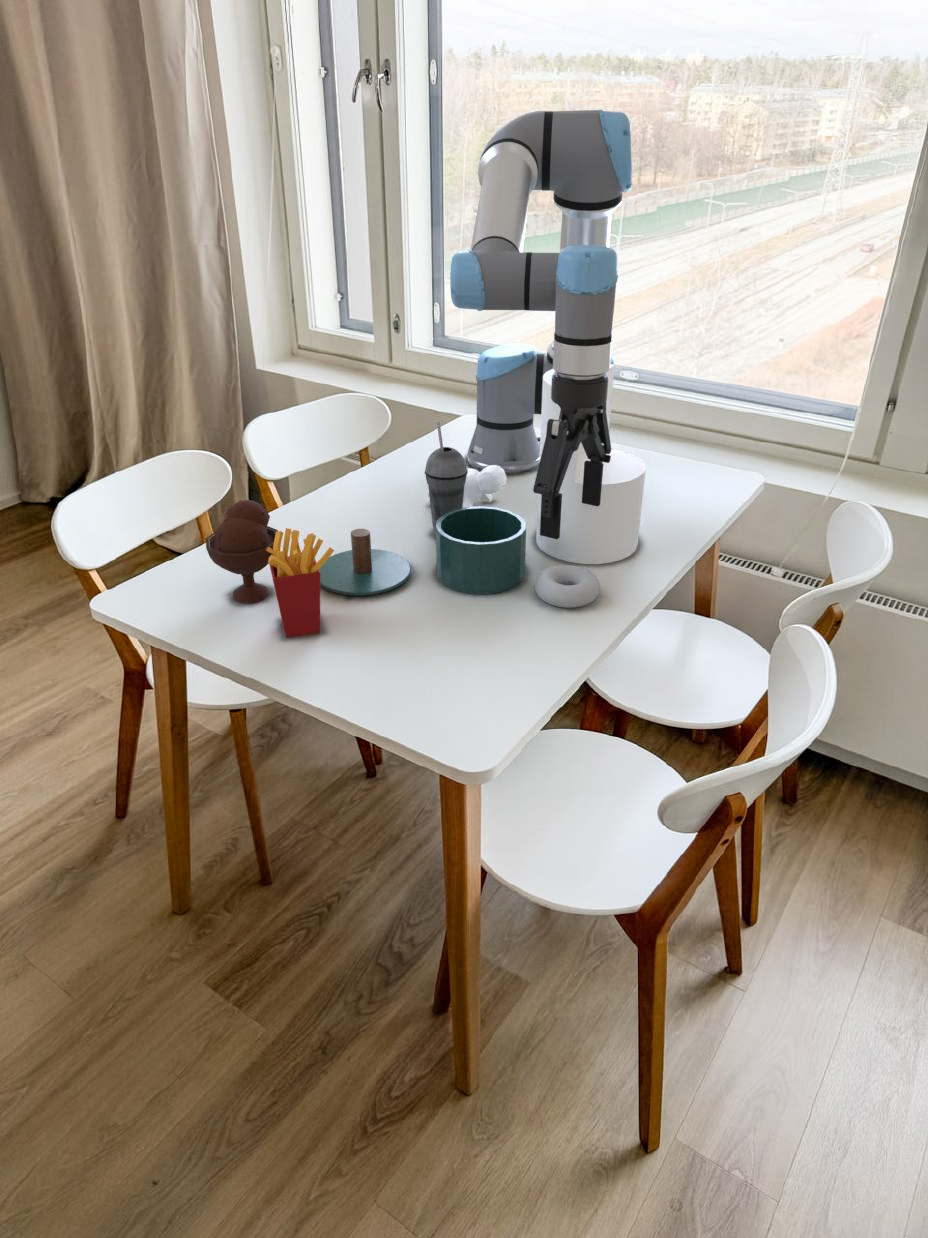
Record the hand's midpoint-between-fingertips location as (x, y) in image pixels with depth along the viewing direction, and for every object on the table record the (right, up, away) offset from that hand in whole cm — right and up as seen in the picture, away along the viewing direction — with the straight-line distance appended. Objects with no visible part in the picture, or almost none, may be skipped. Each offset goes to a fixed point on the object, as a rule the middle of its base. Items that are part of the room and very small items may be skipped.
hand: (571, 519), depth 127 cm
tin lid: (-32, -7, +12) cm, 35 cm away
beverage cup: (-19, 0, +26) cm, 32 cm away
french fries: (-38, -15, 0) cm, 41 cm away
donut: (0, -11, +7) cm, 13 cm away
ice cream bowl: (-48, -11, +7) cm, 50 cm away
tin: (-13, -7, +13) cm, 20 cm away
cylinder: (+5, -1, +23) cm, 24 cm away
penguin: (-15, +6, +36) cm, 39 cm away
